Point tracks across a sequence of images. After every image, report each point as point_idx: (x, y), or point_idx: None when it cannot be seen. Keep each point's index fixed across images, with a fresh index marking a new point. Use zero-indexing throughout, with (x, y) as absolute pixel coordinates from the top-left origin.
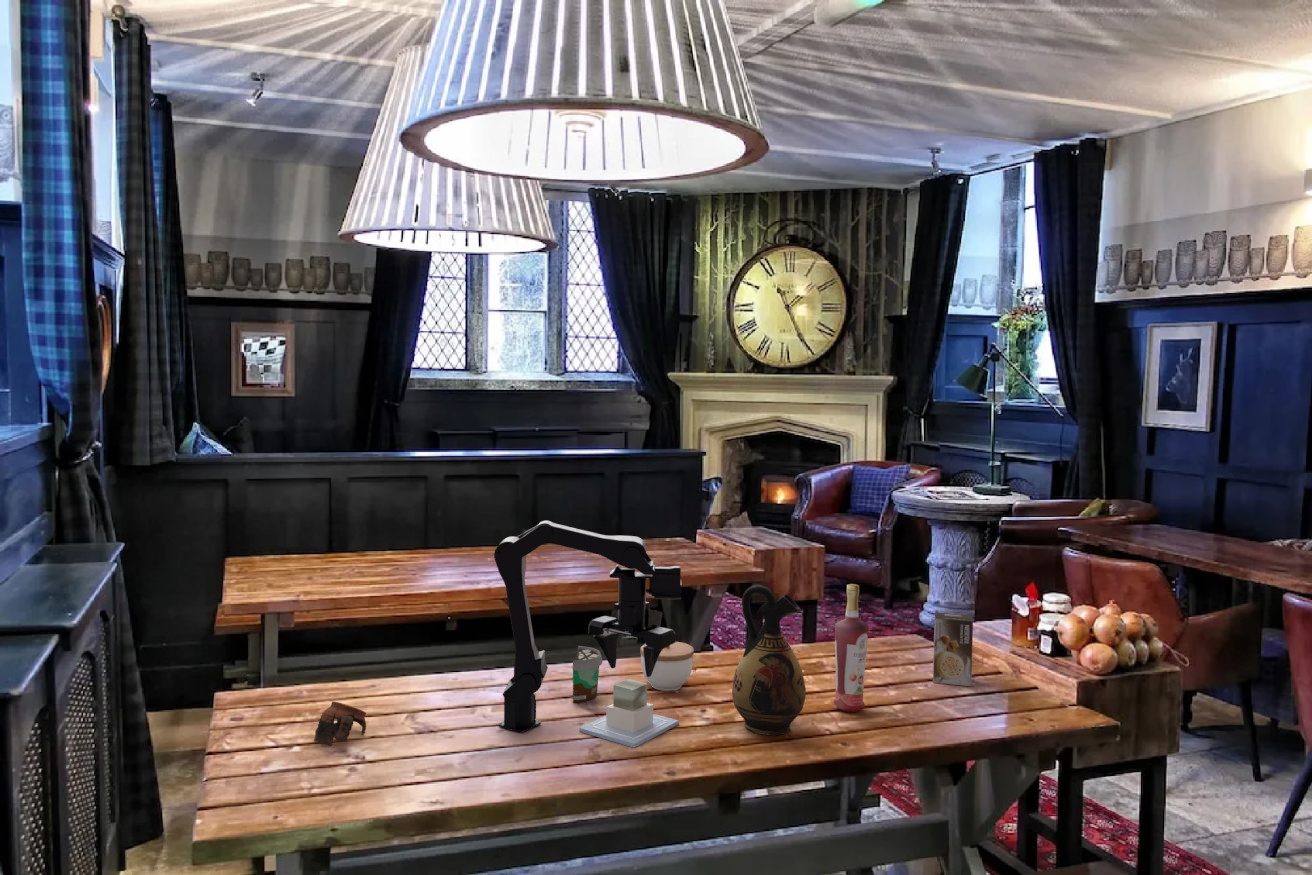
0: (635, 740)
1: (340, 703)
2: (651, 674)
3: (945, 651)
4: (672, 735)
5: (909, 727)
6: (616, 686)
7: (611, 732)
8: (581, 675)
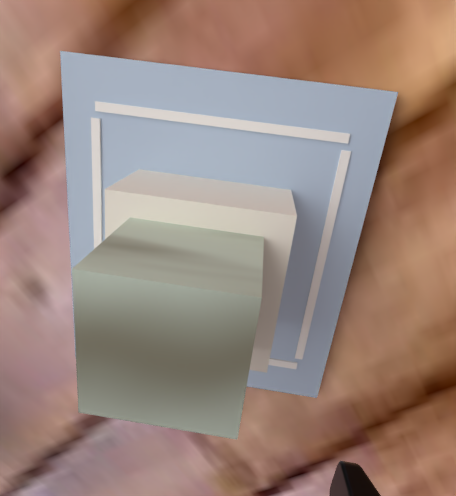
0: (307, 373)
1: None
2: (366, 477)
3: None
4: (408, 232)
5: None
6: (103, 410)
7: None
8: None
